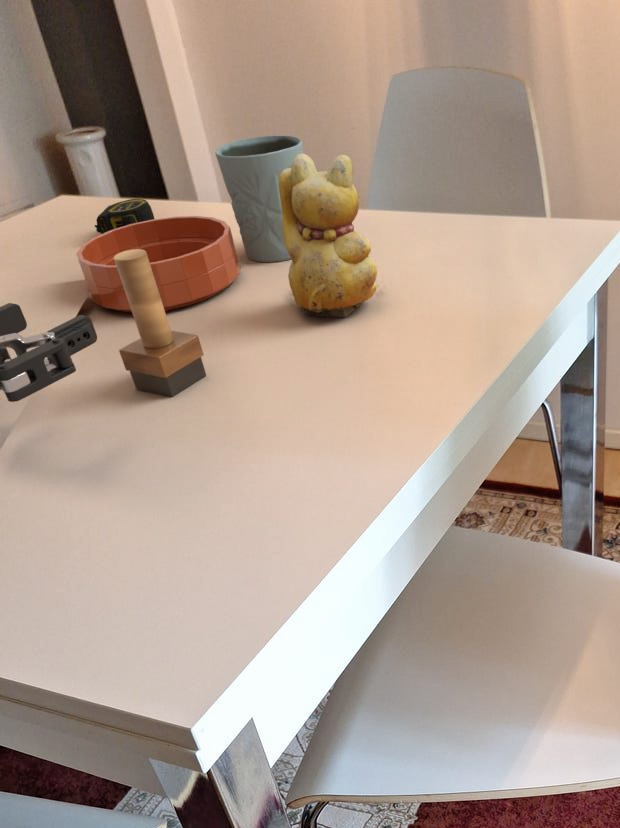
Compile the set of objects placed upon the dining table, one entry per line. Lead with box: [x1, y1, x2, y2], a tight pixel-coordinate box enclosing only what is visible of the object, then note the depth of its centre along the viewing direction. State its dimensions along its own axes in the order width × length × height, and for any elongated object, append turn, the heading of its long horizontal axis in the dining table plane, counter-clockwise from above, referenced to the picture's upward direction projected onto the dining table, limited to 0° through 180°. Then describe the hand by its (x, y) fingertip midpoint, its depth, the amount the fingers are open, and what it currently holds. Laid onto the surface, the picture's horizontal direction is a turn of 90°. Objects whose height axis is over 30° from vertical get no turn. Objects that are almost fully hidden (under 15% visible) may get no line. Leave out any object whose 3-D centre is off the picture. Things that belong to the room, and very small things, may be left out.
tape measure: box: [94, 198, 156, 235], centre depth 125 cm, size 7×7×4 cm
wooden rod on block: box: [114, 249, 207, 397], centre depth 84 cm, size 5×5×12 cm
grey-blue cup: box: [214, 135, 304, 263], centre depth 112 cm, size 10×10×12 cm
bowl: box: [75, 215, 241, 314], centre depth 107 cm, size 17×17×6 cm
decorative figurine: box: [279, 152, 378, 318], centre depth 94 cm, size 10×8×15 cm
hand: (55, 320), depth 76 cm, fingers open, 8 cm apart
